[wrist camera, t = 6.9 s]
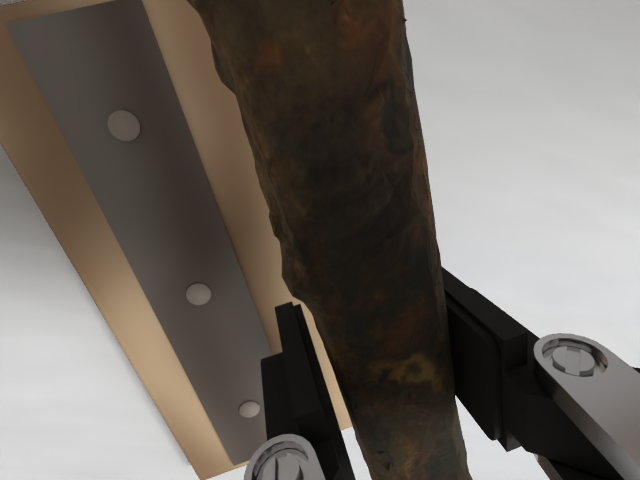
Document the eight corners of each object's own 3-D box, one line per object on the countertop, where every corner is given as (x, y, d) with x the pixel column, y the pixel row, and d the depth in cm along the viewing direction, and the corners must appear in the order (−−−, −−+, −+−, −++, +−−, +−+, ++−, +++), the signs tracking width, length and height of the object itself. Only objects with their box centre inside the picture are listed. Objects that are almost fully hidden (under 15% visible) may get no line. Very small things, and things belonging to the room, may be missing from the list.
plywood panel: (338, -54, 12) (348, -71, 11) (412, 388, 21) (423, 405, 20) (-45, 28, 11) (-81, 18, 10) (203, 464, 20) (200, 486, 18)
